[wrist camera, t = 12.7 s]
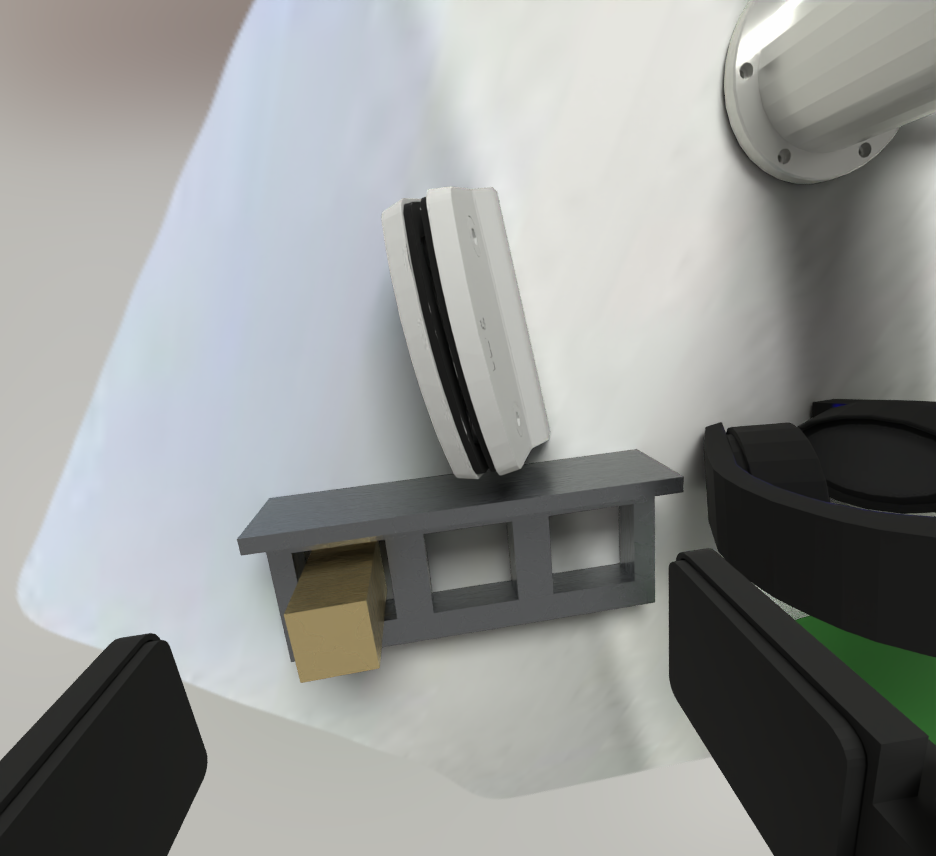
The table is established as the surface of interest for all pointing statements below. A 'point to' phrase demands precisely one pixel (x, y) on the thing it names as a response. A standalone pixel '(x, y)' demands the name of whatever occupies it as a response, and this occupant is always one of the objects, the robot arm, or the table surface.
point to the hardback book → (886, 671)
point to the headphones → (835, 514)
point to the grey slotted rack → (469, 505)
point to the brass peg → (338, 612)
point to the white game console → (466, 328)
